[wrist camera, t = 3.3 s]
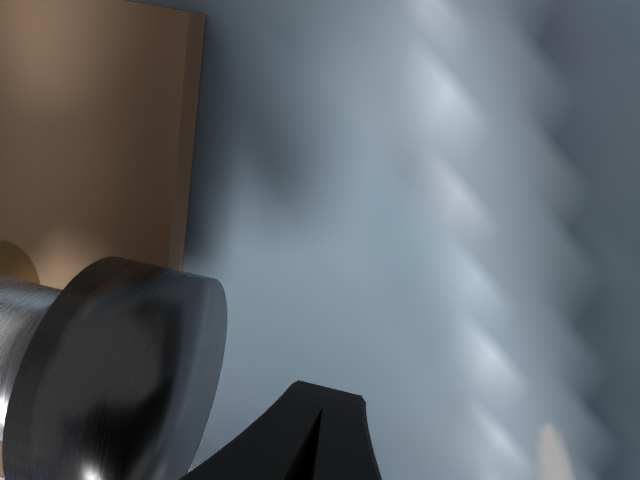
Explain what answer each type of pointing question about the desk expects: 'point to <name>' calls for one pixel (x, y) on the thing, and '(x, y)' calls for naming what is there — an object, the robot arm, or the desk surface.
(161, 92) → the base board
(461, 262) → the desk surface
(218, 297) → the shaft
